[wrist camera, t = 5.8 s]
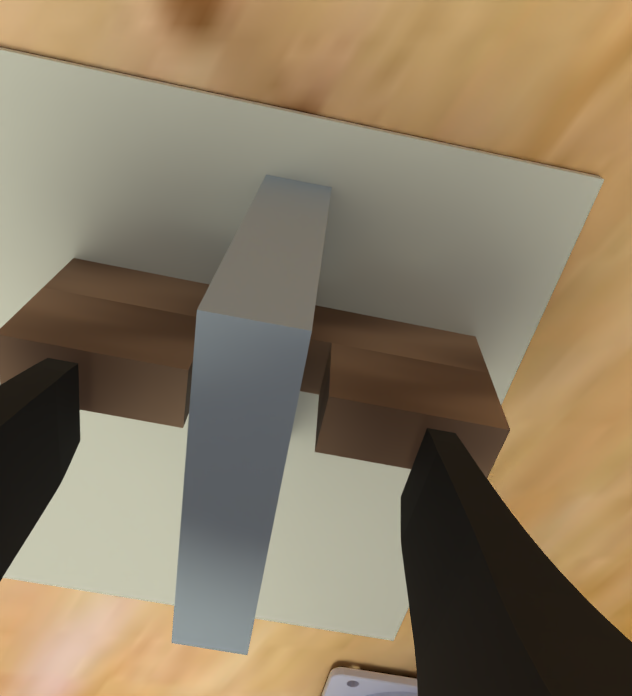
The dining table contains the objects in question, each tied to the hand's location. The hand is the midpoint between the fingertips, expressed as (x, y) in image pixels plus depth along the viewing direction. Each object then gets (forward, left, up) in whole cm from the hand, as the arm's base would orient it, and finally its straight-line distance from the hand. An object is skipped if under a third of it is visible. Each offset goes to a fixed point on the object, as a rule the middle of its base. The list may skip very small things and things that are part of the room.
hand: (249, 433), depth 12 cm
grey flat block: (0, 0, -5) cm, 5 cm away
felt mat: (+1, +4, -5) cm, 6 cm away
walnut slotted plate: (0, 0, -5) cm, 5 cm away
